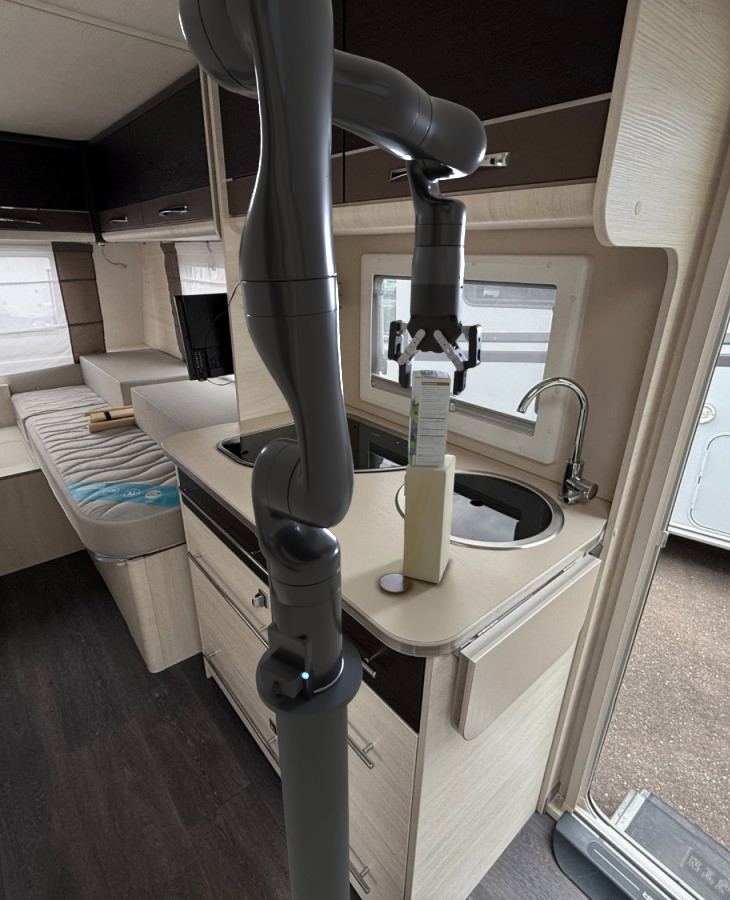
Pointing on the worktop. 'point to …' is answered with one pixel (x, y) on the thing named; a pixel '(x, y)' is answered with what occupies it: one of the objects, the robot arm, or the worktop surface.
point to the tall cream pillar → (428, 519)
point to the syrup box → (428, 417)
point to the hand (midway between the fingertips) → (430, 390)
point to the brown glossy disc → (394, 583)
